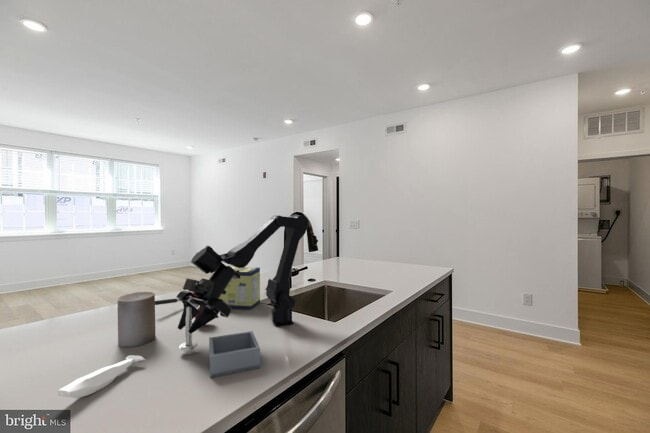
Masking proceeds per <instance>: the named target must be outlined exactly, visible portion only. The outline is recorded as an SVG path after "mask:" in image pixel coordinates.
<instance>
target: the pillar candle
mask: <svg viewBox="0 0 650 433" xmlns="http://www.w3.org/2000/svg"><path fill="white" fill-rule="evenodd" d="M155 296H156V295H155V293H154V292H152V291H137V292H133V293H127V294H124V295H121V296H120V297H118V298H117V299H116V301H117V345H118V346H119V347H123V348H125V347H130V348H132V347H133V348H135V347H139V346H142V345H145V344H148V343H149V342H152V341H153V340H154V339H155V338H156V305H155V301H156V298H155Z"/></svg>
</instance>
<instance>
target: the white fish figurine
mask: <svg viewBox="0 0 650 433" xmlns="http://www.w3.org/2000/svg"><path fill="white" fill-rule="evenodd" d="M145 360H146V358H144V357H143V356H142V355H133V354H129V355H127V356H126V357H125V360H121V361H120V362H117V363H114V364H112V365H108V366H104V367H101V368H99V369H97V370H95V371H93V372H91V373H89V374H86V375H84V376H81V377H78V378H77V379H75V380H74V381H72V382H71V383H69V384H67V385H65V386H63V387H61V388H60V389H58V390H56V392H57V395H58V396H59V397H65V398H71V399H72V398H73V399H80V398H83V397H86V396H89V395H91V394H94V393H96V392H98V391H100V390H101V389H103V388H105V387H107V386H108V385H110V384H111V383H113V381H115V379H116V378H117V377H118V376H119V374H121V373H122V372H123V371H124V370H126V369H127V368H128V367H129V366H131V365H132V364H133V363H136V362H140V361H145Z"/></svg>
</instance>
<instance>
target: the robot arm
mask: <svg viewBox="0 0 650 433" xmlns="http://www.w3.org/2000/svg"><path fill="white" fill-rule="evenodd" d="M309 224H310V221H309V220H308V218H307V217H306V216H305V215H303V214H301V215H298V214H297V215H290V216H282V215H272V216H271V217H270V218H269V219H268V220H267V222H264V224H263V225H262V226H261V227H260V228H259V229H258V230H256V231H255V232H254V233H253V234H252V235H251V236H250V237H249V238H248V239H247V240H245V241H243V242H242V243H238V244H237V245H236V246H234V247H233V248H231V249H230V250H229V251H228V252H226V253H222V254H219V253H217V252H216V251H215V250H214V248H213V247H211V246H210V245H206V246H205V247H204V248H202V249H200V251H198V252H196V253H195V255H194V256H193V257H192V258H191V261H190V262H191V264H193V265H194V266H195V267H196V268H198V269H199V270H200V271H201V272H203V273H205V275H207V274H209V273H210V274H211V276H210V277H209V279H206V278H204V277H203V278H200V280H196V279H193V278H186V279H185V282H184V284H183V287H182V290H181V291H180V292H179V293H178V294H177V295H176V299H179V300H180V301H179V302H181V303H182V305H183V310H182V314H181V317H180V319H179V322H178V325H177V329H178V330H180V331H181V330H183V329H184V328H185V327H186V326H185V325H186V324H185V323H186V322H185V321H186V320H185V319H186V308H187V307H191V314H192V320H193V319H194V320H193V321H192V323H193V324H192V325H191V327H190V329H189V331H188V332H189V333H191V334H192V335H193V333H195V332H196V331H198V330H199V329H200V328H203V327H204V326H206V325H207V324H208V323H210V322H212V321H214V320H215V319H218V318H219V315H220V317H222V318H226V319H228V317H229V316H230V314H231V313H232V309H231V307H230V306H229V305H228V304H227V303H226V302H224V301H223V300H222V299H219V297H220V296H221V294H224V295H225V294H226V291H225V288H226V287H227V285H228V284H229V283H230V281H231V280H232V278H233V279H240V278H241V277H240V274H239V270H234V269H233V268H232V267H237V268H244V267H247V266H248V264H250V262H251V261H252V259H253V258H254V257H255V254H256V252H257V250H258V249H259V248H260V247H261V246H262V245H263V244H264V243H265V242H266V241H268V239H270V238H271V237H272V236H273V235H274V234H275V233H276V232H277V231H278V230H279V229H280V228H281V227H282V228H285V235H286V238H285V241H284V245H283V248H282V252H281V256H280V259H279V264H278V267H277V270H276V273H275V276H274V277H273V278H271V279H270V278H269V279H268V280H267V285H266V288H265V291H266V292H265V295H266V298H267V299H268V300H270V303H271V304H272V309H271V322H272V323H273V325H274V326H275V327H281V326H288V325H293V324H294V321H293V308H294V307H295V304H296V300H295V299H294V298H293V297H292V296H291V295H290V292H291V285H290V276H291V272H292V269H293V265H294V261H295V258H296V254H297V250H298V247H299V243H300V240H301V239H302V238H303V237H304V236H305V235H306V231H307V230H308V227H309ZM226 264H227V265H226ZM187 290H188V291H187ZM189 291H192V292H193V293H191V292H189ZM195 295H196V296H197V297H196V296H195ZM201 302H202V303H201ZM199 307H200V310H198V308H199ZM198 313H199V314H198ZM197 314H198V315H197ZM196 315H197V317H196V319H195V316H196ZM205 324H206V325H205ZM203 325H204V326H203Z"/></svg>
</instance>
